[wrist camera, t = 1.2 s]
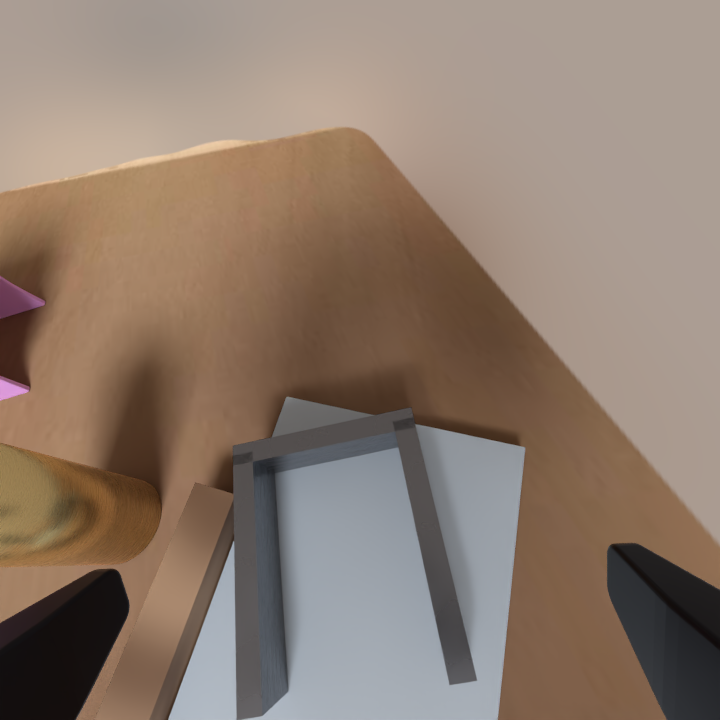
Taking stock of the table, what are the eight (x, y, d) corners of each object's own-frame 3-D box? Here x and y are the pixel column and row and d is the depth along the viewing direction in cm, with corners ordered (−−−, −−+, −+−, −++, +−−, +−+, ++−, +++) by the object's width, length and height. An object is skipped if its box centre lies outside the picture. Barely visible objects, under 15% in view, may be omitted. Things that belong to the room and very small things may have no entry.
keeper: (470, 660, 17) (477, 680, 14) (266, 695, 17) (236, 720, 15) (413, 425, 21) (411, 407, 19) (256, 458, 22) (232, 445, 19)
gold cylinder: (136, 575, 21) (-110, 591, 12) (72, 550, 23) (-200, 546, 13) (174, 490, 23) (-12, 442, 13) (113, 471, 24) (-99, 414, 15)
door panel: (431, 1310, 11) (431, 1375, 10) (69, 1022, 15) (46, 1052, 14) (521, 451, 21) (525, 447, 20) (291, 402, 24) (286, 396, 24)
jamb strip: (95, 942, 15) (39, 1006, 13) (50, 909, 16) (-11, 966, 14) (254, 500, 22) (235, 494, 20) (218, 489, 23) (195, 482, 21)
